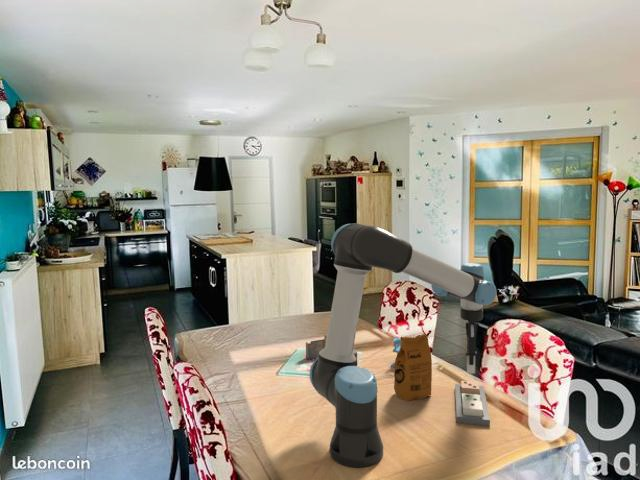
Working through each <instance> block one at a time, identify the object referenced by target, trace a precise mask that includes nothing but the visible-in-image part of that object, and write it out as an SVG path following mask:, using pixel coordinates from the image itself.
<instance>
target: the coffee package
mask: <svg viewBox="0 0 640 480" xmlns="http://www.w3.org/2000/svg"><path fill="white" fill-rule="evenodd" d="M400 339H401V342H402V344H400V346H401V347H400V350H399V352H398V354H397V353H396V357H395V360H394V363H395V365H394V366H395V368H394V371H393V372H394V374H393V375H394V376H393V377H394V379H393V380H394V381H393V383H394V384H393V389H394V392H395V394H396V395H397V396H398V397H399V398H400V399H402V400H403V401H405V402H409V401H413V400H416V399H417V400H422V399H425V398H427V397H429V396H431V395H432V381H433V378H432V375H433V373H432V372H433V368H432V367H433V366H432V365H433V364H432V352H431V347H430V343H429V339H428V335H427V333H422V334H420V335H418V336H415V337H411V336H409V337H408V336H401V337H400Z"/></svg>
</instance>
